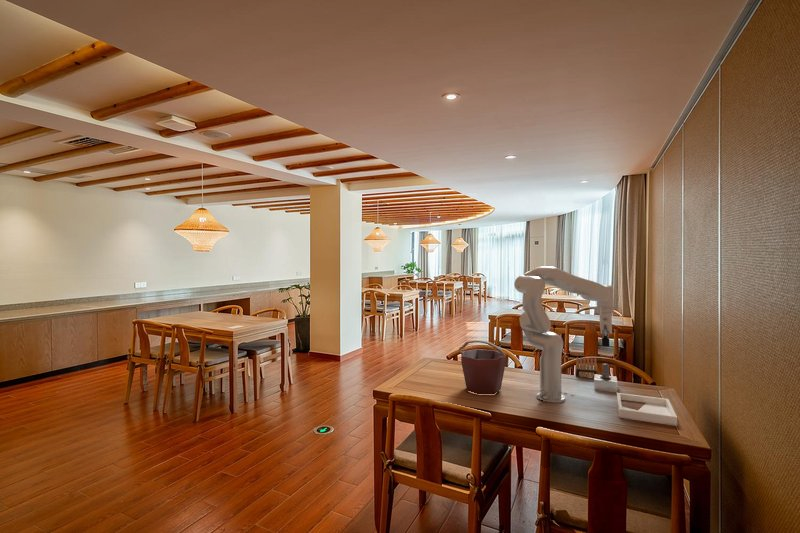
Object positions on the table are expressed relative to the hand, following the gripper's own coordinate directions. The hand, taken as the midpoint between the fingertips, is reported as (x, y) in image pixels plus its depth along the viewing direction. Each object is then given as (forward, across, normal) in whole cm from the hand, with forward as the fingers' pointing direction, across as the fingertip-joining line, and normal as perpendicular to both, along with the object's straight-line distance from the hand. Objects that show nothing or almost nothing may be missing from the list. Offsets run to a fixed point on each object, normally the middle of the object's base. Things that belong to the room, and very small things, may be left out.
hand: (605, 344), depth 197 cm
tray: (+23, -24, -14) cm, 37 cm away
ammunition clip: (+24, +16, +9) cm, 30 cm away
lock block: (+23, 0, 0) cm, 23 cm away
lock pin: (+22, 0, 0) cm, 22 cm away
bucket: (+23, -25, +56) cm, 65 cm away
